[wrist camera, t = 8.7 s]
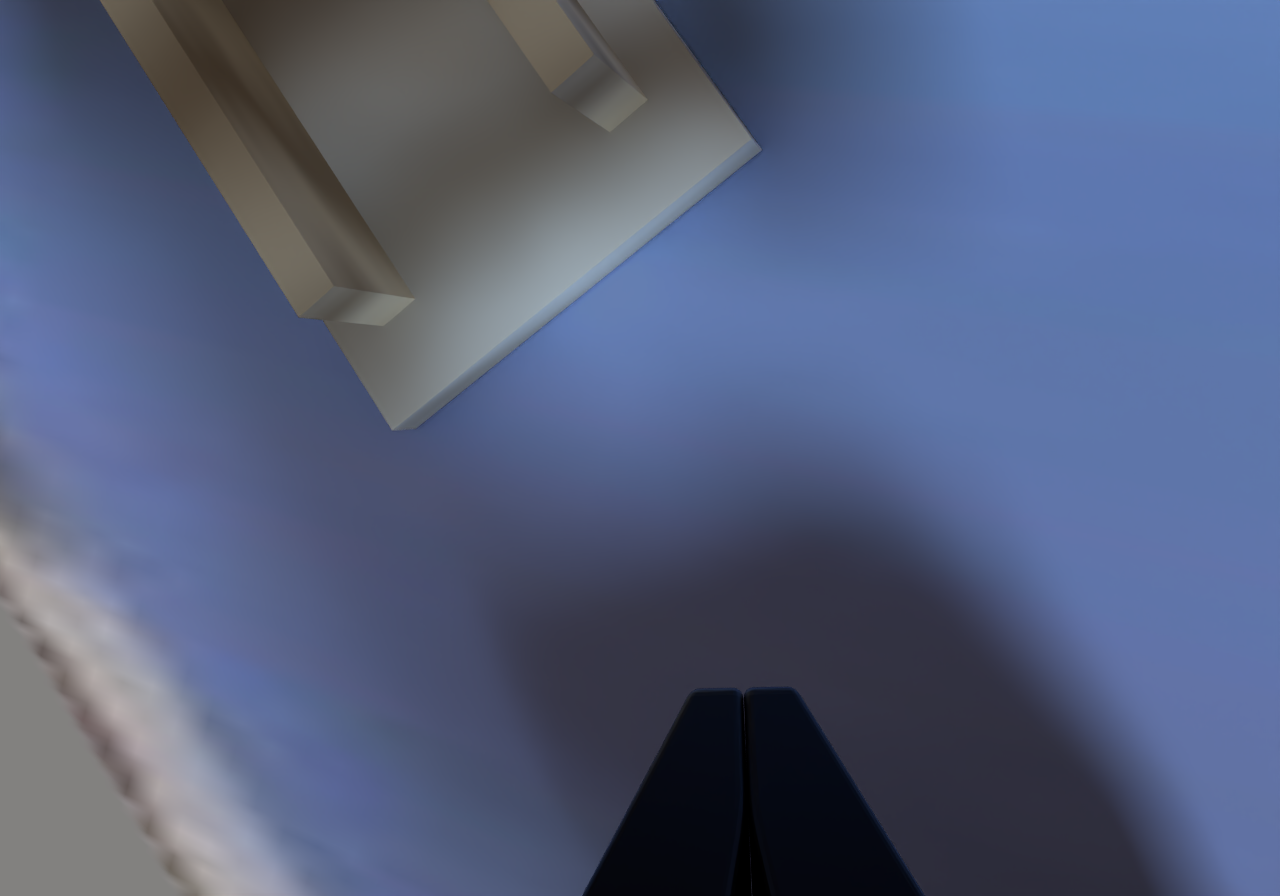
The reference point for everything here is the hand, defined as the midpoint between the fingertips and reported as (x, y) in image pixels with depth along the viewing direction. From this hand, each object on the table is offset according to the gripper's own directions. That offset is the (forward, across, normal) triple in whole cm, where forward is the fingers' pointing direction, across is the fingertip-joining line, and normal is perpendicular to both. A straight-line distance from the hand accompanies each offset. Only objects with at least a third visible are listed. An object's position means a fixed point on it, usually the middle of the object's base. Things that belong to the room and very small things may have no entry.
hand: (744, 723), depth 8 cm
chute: (+20, +8, -3) cm, 21 cm away
